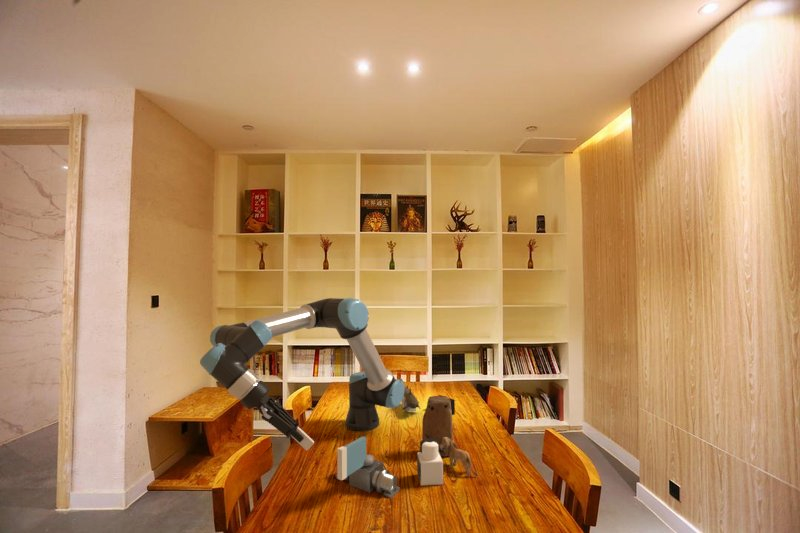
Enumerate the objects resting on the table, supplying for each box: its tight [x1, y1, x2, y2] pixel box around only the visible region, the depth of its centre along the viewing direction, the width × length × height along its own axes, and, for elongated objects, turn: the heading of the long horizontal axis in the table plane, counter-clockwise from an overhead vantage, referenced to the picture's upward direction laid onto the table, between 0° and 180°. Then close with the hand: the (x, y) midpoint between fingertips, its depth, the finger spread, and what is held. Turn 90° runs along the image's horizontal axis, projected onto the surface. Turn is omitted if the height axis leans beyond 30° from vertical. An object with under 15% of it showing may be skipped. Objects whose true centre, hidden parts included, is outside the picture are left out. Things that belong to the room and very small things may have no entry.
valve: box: [334, 458, 401, 499], centre depth 114 cm, size 22×7×7 cm, turn 57°
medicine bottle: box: [416, 438, 444, 487], centre depth 117 cm, size 7×7×12 cm
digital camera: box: [437, 394, 456, 416], centre depth 180 cm, size 10×5×7 cm, turn 36°
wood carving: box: [399, 377, 421, 412], centre depth 187 cm, size 9×35×11 cm, turn 11°
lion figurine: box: [439, 437, 478, 478], centre depth 123 cm, size 15×5×9 cm, turn 44°
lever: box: [336, 436, 374, 481], centre depth 111 cm, size 14×4×8 cm, turn 147°
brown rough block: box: [421, 395, 454, 458], centre depth 135 cm, size 11×8×20 cm
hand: (310, 446), depth 104 cm, fingers closed
